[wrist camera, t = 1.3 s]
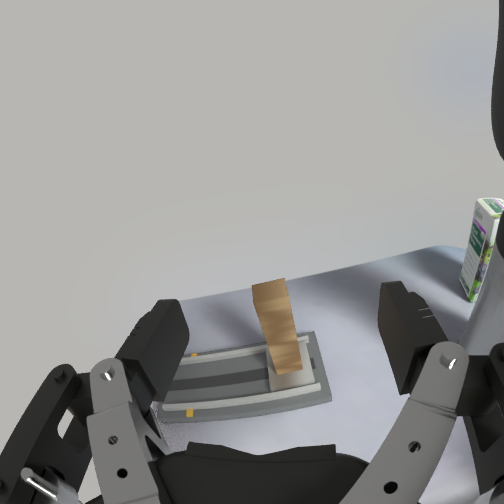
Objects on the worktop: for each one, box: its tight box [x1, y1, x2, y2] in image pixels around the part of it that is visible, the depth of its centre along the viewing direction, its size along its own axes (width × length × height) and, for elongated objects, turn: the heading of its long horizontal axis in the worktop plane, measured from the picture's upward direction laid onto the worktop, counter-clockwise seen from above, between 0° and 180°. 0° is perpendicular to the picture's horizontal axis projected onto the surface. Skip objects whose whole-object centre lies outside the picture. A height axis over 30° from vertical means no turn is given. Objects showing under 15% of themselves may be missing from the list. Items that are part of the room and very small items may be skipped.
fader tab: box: [252, 278, 315, 392], centre depth 28 cm, size 5×6×13 cm
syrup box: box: [459, 198, 504, 302], centre depth 29 cm, size 6×6×14 cm
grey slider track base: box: [157, 331, 332, 423], centre depth 32 cm, size 21×10×2 cm, turn 94°
